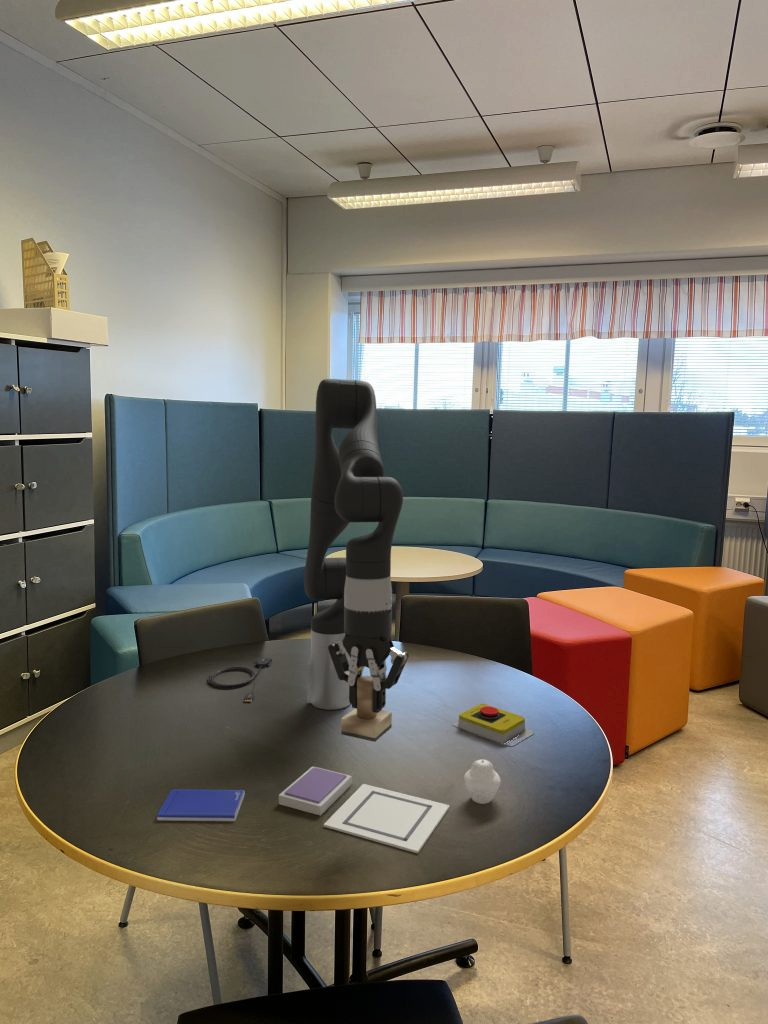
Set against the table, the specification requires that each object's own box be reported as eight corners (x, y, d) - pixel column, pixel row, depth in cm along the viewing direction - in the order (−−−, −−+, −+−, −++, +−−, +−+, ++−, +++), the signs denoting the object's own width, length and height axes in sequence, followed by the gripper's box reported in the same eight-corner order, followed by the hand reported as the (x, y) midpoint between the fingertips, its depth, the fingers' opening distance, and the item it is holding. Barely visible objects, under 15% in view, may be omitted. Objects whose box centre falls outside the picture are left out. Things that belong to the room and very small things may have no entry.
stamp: (341, 734, 112) (341, 682, 111) (358, 720, 118) (359, 670, 117) (375, 741, 110) (375, 688, 109) (391, 727, 115) (391, 676, 114)
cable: (192, 703, 160) (191, 697, 160) (222, 661, 188) (221, 656, 188) (251, 705, 160) (251, 698, 160) (272, 662, 188) (272, 657, 188)
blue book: (244, 788, 121) (172, 788, 121) (234, 815, 113) (156, 814, 113) (244, 797, 121) (172, 796, 121) (234, 824, 113) (157, 823, 113)
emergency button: (476, 695, 156) (536, 714, 146) (475, 714, 156) (535, 735, 146) (451, 707, 149) (512, 729, 139) (450, 727, 149) (511, 750, 139)
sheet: (323, 826, 111) (323, 823, 111) (363, 785, 124) (363, 783, 124) (417, 853, 105) (418, 850, 105) (449, 807, 117) (449, 804, 117)
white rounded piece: (486, 813, 116) (487, 772, 115) (456, 799, 120) (457, 760, 119) (507, 798, 120) (508, 759, 120) (477, 785, 125) (478, 748, 124)
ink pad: (278, 804, 118) (278, 793, 118) (312, 774, 128) (312, 764, 127) (320, 815, 114) (320, 804, 114) (351, 784, 124) (351, 774, 124)
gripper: (317, 603, 111) (317, 709, 113) (398, 614, 105) (397, 725, 107) (340, 593, 118) (340, 693, 120) (418, 603, 112) (417, 708, 114)
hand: (367, 708), depth 113 cm, fingers closed on stamp, 3 cm apart
